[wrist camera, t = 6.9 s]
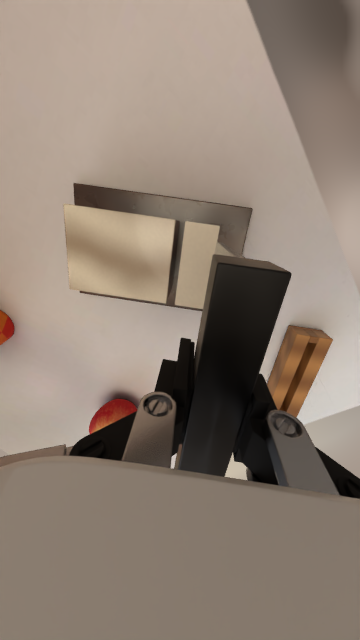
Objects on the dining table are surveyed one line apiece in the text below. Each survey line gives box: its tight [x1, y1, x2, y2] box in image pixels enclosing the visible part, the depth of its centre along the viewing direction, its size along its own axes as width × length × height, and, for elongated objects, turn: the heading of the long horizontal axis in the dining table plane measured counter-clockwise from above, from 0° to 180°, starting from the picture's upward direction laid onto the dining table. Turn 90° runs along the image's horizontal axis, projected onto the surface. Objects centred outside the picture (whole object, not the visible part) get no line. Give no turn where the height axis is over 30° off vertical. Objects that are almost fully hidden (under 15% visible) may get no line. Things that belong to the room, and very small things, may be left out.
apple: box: [89, 399, 137, 434], centre depth 37 cm, size 8×8×10 cm
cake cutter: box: [174, 242, 291, 477], centre depth 13 cm, size 12×2×10 cm, turn 173°
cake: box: [63, 183, 252, 311], centre depth 27 cm, size 14×22×7 cm, turn 82°
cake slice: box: [175, 221, 220, 309], centre depth 26 cm, size 9×4×6 cm, turn 173°
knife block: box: [267, 325, 333, 417], centre depth 34 cm, size 15×5×3 cm, turn 173°
